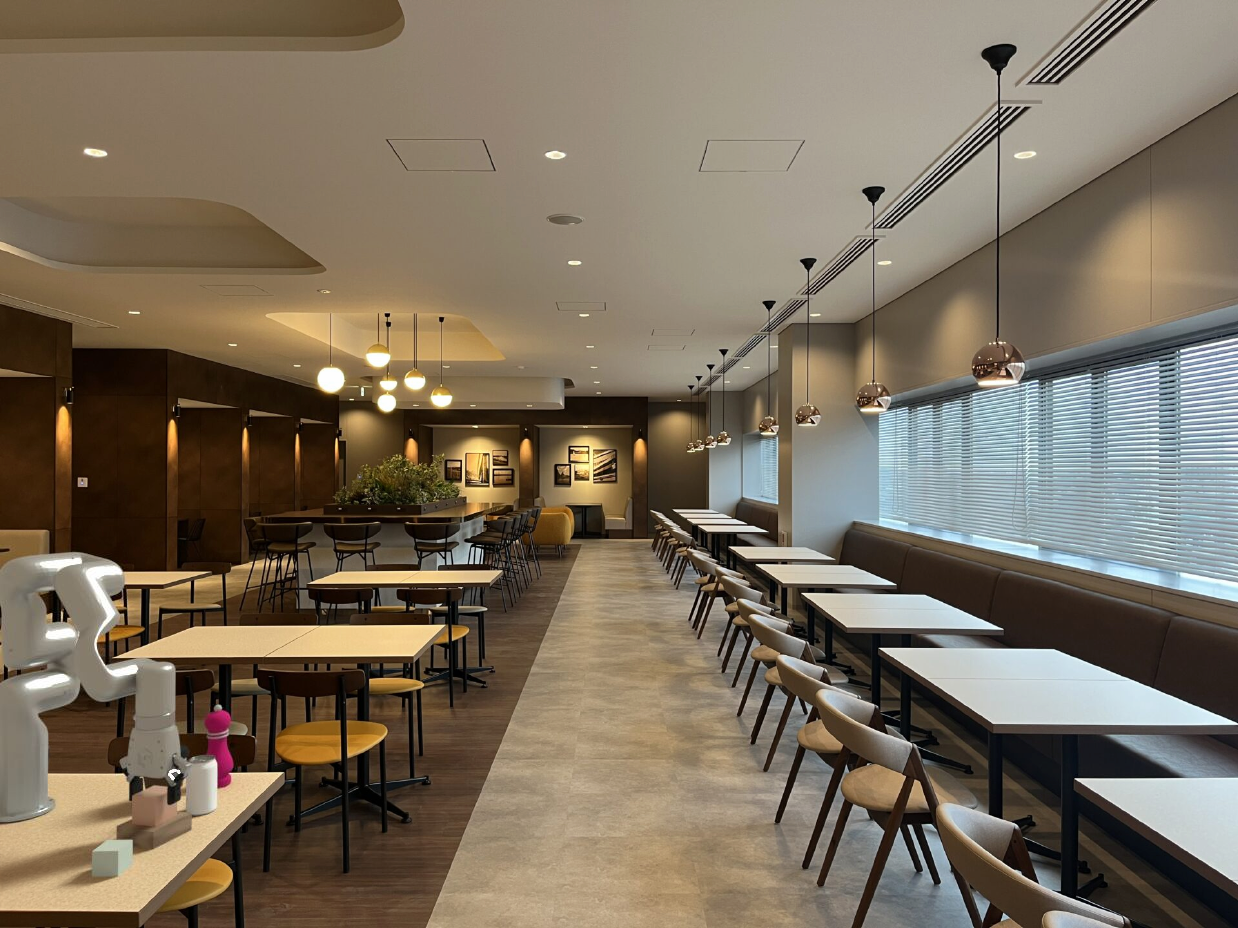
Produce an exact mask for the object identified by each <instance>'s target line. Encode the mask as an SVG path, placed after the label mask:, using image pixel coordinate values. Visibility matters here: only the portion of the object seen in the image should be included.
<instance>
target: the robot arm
mask: <svg viewBox="0 0 1238 928" xmlns="http://www.w3.org/2000/svg"><path fill="white" fill-rule="evenodd" d="M125 583H126V577H125V573H124V571H123V569H122V568H121V566H120V565H118V563H116V562H114V561H112V560H110V559H109V558H108V559H107V558H103V557H99V556H95V555H92V554H88V553H84V552H78V551H77V552H76V551H72V552H69V551H68V552H60V553H59V552H58V553H57V552H56V553H46V554H34V555H33V554H32V555H26V556H22V557H21V556H20V557H17V558H14V559H11V560H9V561H7V562H6V563H4V565H3V566H2V567H1V568H0V608H1V609H0V610H1V624H0V625H1V626H0V627H1V634H0V635H1V638H0V639H1V640H0V641H1V642H0V643H1V646H0V647H1V648H0V649H1V650H0V651H1V653H0V654H1V659H2V663H3V664H4V666H5V667H6V668H8V669H11V670H26V669H30V668H31V669H32V668H36V667H40V666H41V667H42V666H45V665H47V666H46V669H43V670H38V671H37V670H36V671H31V672H28V673H23V674H18V675H15V676H12V677H9V678H7V679H5V680H3V681H1V682H0V823H12V822H20V821H25V820H29V819H33V818H36V817H39V816H42V815H45V814H46V813H48V812H50V811H52V810H54V808H55V807H56V805H57V804H56V802H57V801H56V799H55V798H54V797H50V796H49V795H48V794H49V793H48V791H49V790H48V789H49V784H48V783H49V781H48V780H49V731H48V727H47V725H45V723H44V722H43V720H42V719H41V718H40V717H39V714H40V713H43V712H46V711H50V710H55V709H58V708H61V707H64V706H67V705H69V704H71V703H72V702H74V701H75V700H76V699H77V697H78V695H79V693H80V690H81V687H80V686H82V687H83V689H84V691H85V692H86V694H87V695H88V696H89V697H91V699H93V700H95V701H97V702H110V701H115V700H117V699H121V698H124V697H127V696H132V695H133V696H134V695H135V714H134V715H133V717H132V719H133V720H134V721H135V726H134V727H133V728H132V729H131V732H130V737H129V743H128V751H127V756H124V757H122V758H120V760H119V764H120V766H121V768H122V773H123V774H124V776H125V777H126V779H125V780H126V782H127V783H128V801H130V802H132V795H135V794H137V793H139V792H141V791H143V790H144V779H143V777H149V778H163V777H165V778H166V780H167V781H168V783H169V784H170V786H168V787H167V804H168V805H172V804H174V803H176V802H177V803H178V802H180V801H181V800H182V795H181V794H182V792H181V791H182V787H181V782H183V783H184V782H185V780H186V777H187V776H188V772H189V770H190V768H191V764H190V763H189V762H188V760H187V759H186V760H185V759H183V758H182V757H181V754H180V744H181V741H180V733H179V730H178V726H177V725H176V666H175V664H173V663H172V662H168V661H156V660H154V659H153V660H152V659H151V658H147V657H136V658H133V659H132V658H131V659H127V660H124V661H118V662H114V663H110V664H105V662H104V661H103V659H102V657H101V655H100V653H99V650H98V647H97V645H98V639H99V638H100V637H102V636H103V635H106V633H108V632H110V631H111V630H112V629H113V628H114V627H116V625H118V623H119V622H120V619H121V614H120V612H119V611H118V609H117V607H116V605H115V603H114V602H113V600H112V598H111V597H112V596H114V595H115V596H116V595H117V594H119V593H120V592H121V591H123V589H124V587H125ZM49 591H55V592H56V594H57V596H58V598H59V600H60V602H61V603H62V605H63V607H64V609H65V610H66V613H67V614H68V616H69V618H70V620H71V621H72V624H73V625H74V626H73V625H72V624H71V623H68V622H66V621H56V622H49V623H48V622H47V607H46V603H45V602H44V600H43V598H42V597H41V595H39V594H38V593H40V592H49ZM180 768H181V771H180V772H179V769H180ZM172 774H173V775H174V776H175V778H173V776H172Z"/></svg>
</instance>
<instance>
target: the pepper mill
mask: <svg viewBox="0 0 1238 928" xmlns="http://www.w3.org/2000/svg"><path fill="white" fill-rule="evenodd" d="M213 710H214V711H211V712H209V713H208V714H207V716H206V717H205V718H204V727H205V728H206V730H207V732H206V734H207V735H206V739H208V746H207V747H208V748H207V752H206V754H205V755H213V756H215V760H216V762H217V789H221V788H225V787H227V786H229V785H230V784H232V775H231V774H230V773H231V772H232V770H233V768H234V760H233V756H232V755H231V752H230V750H229V748H228V743H227V741H228V739H227V738H228V736H229V735H230V734H229V731H230V730H229V728H228V727H230V726H231V724H232V723H231V722H232V718H231V715H230V713H229V712H227V711H226V710H223V707H222V705H221V704H217V705H215V706H214V707H213Z"/></svg>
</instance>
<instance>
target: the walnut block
mask: <svg viewBox="0 0 1238 928" xmlns="http://www.w3.org/2000/svg"><path fill="white" fill-rule="evenodd" d="M192 820H193V816H192V814H191V813H186V812H183V811H178V810H177V816H175V817H173V818H171V819H169V820H167V821H165V822H163V823H162V824H160V825H158V826H156V827H154V826H146V825H137V824H132V818H131V819H130V820H127V821H125V822H122V823H120V824H119V825H118V824H117V825H116V840H133V847H136V848H137V847H138V848H141V849H142V848H143V849H149V850H155V849H158V848H159V847H161V846H163V845H164V844H167V843H168V842H169V843H170V841H172V840H175V839H176V838H178V837H180V836H182V835H185V834H187V833H188V832H190V831H192V830H193V829H192V827H193V824H192V823H193V821H192Z"/></svg>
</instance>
